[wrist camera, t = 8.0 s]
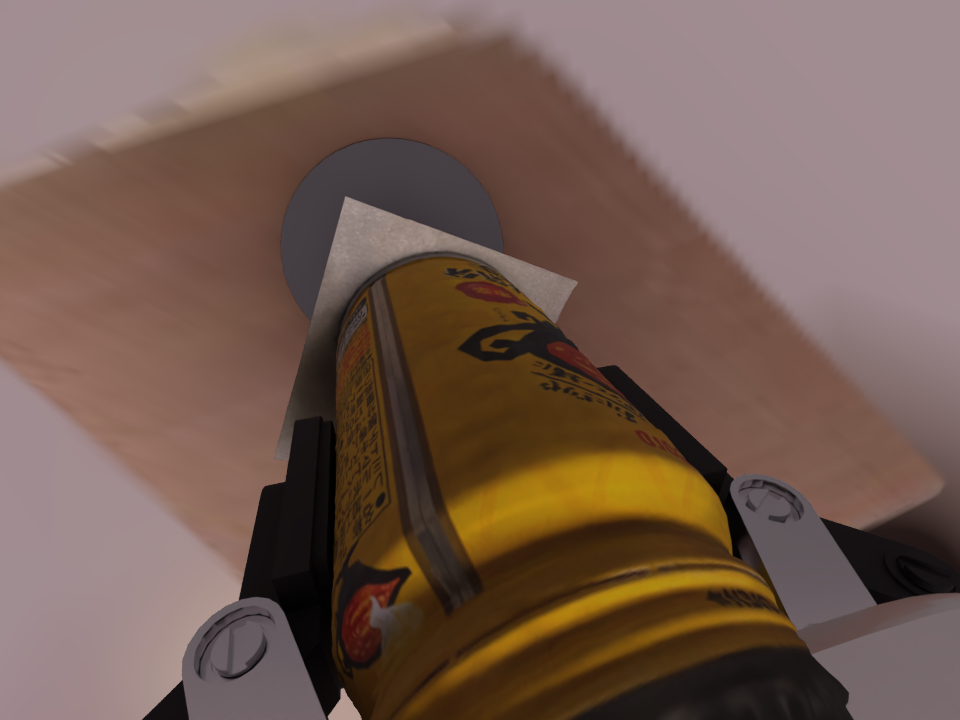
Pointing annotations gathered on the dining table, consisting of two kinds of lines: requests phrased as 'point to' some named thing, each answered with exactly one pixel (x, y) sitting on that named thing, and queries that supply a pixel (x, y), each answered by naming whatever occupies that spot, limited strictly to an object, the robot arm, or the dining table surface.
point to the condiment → (518, 510)
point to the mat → (380, 204)
